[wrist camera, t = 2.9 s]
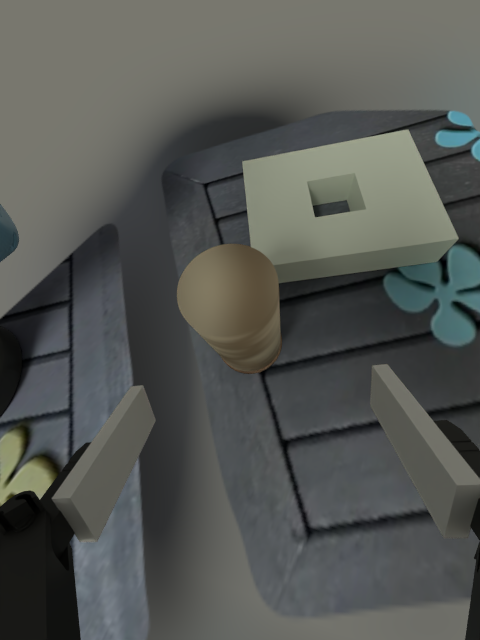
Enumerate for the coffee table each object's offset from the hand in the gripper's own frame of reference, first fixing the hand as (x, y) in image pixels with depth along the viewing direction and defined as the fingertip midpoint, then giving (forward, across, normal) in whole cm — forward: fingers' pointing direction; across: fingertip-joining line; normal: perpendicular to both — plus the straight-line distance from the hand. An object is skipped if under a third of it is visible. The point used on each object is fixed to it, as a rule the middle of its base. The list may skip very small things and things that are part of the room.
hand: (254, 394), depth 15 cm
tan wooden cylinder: (+13, -1, -4) cm, 13 cm away
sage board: (+24, +10, +7) cm, 27 cm away
